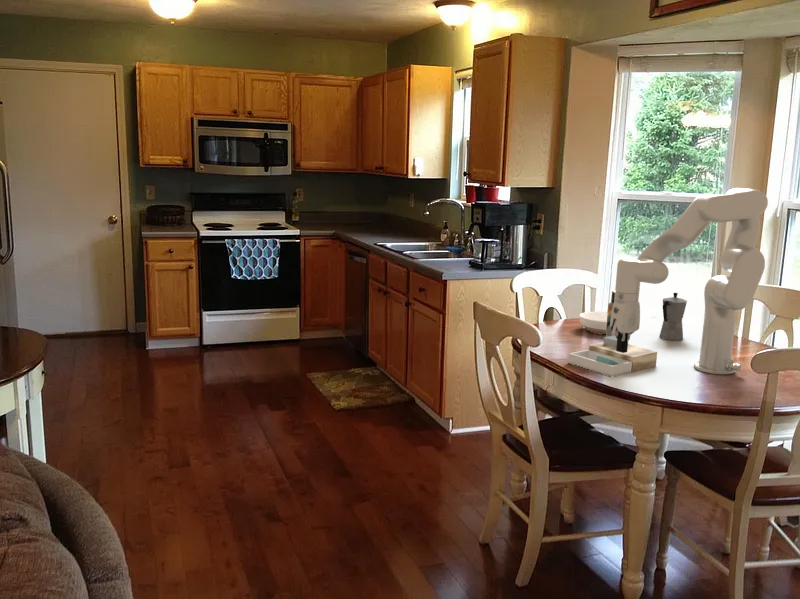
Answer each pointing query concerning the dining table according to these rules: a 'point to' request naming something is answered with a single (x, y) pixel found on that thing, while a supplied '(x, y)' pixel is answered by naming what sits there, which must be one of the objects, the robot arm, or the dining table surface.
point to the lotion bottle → (610, 306)
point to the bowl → (594, 321)
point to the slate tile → (610, 341)
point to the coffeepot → (673, 318)
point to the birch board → (629, 355)
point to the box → (599, 363)
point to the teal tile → (605, 360)
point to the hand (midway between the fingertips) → (621, 351)
